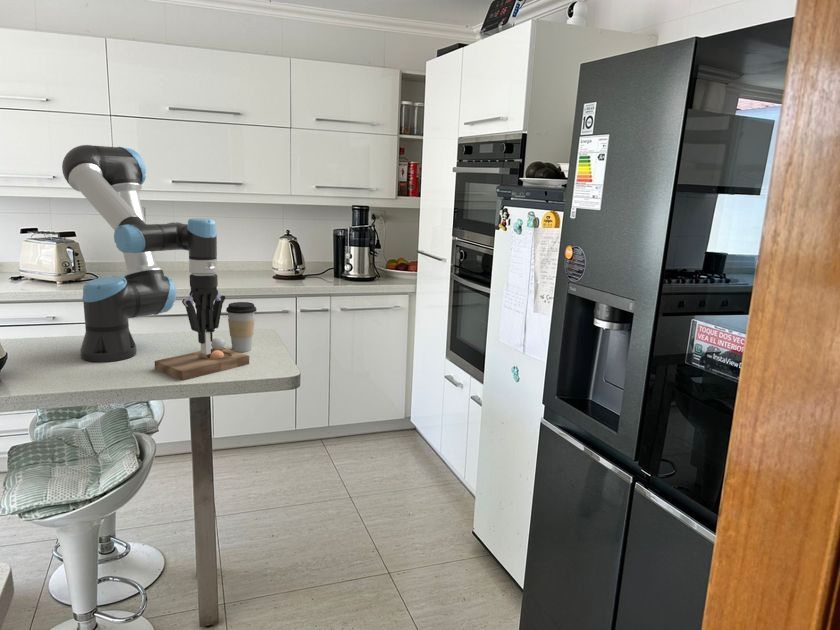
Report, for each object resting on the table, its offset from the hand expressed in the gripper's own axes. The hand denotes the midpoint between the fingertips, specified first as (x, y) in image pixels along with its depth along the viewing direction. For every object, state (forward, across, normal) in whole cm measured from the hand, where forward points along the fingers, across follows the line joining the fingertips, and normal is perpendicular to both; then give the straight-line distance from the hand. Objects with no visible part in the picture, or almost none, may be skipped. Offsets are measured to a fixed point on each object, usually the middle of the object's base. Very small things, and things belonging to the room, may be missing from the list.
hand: (205, 353), depth 179 cm
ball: (+2, +4, 0) cm, 4 cm away
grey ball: (-1, +7, +4) cm, 8 cm away
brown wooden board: (+4, -1, 0) cm, 4 cm away
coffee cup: (+4, +18, +7) cm, 20 cm away
